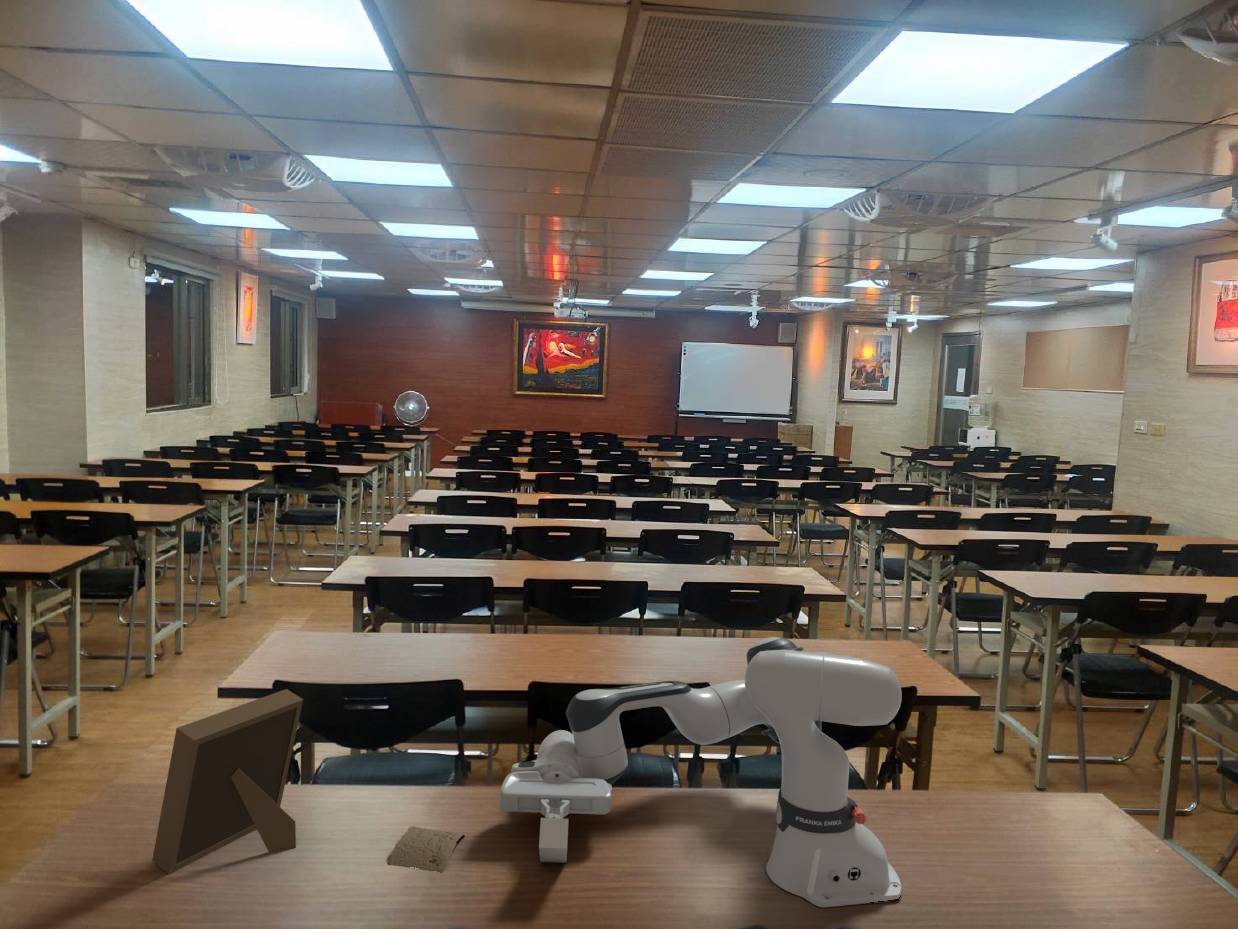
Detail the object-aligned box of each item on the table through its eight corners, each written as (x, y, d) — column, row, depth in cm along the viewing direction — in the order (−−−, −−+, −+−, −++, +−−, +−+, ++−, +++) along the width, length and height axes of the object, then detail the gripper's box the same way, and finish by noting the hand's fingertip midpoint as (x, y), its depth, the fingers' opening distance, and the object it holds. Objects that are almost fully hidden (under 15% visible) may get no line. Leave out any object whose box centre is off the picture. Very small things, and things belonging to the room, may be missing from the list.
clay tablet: (417, 827, 159) (417, 813, 159) (470, 834, 158) (470, 820, 158) (384, 871, 145) (385, 856, 144) (442, 879, 143) (443, 863, 143)
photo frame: (152, 866, 142) (154, 719, 139) (261, 811, 161) (265, 682, 159) (212, 895, 135) (215, 742, 133) (319, 835, 154) (323, 700, 152)
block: (567, 835, 151) (568, 818, 141) (566, 863, 149) (567, 848, 138) (542, 834, 151) (540, 817, 141) (540, 862, 149) (538, 847, 138)
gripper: (611, 798, 164) (613, 836, 150) (503, 795, 163) (495, 833, 150) (612, 766, 164) (614, 802, 150) (504, 763, 163) (496, 798, 149)
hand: (554, 817), depth 150 cm, fingers closed
